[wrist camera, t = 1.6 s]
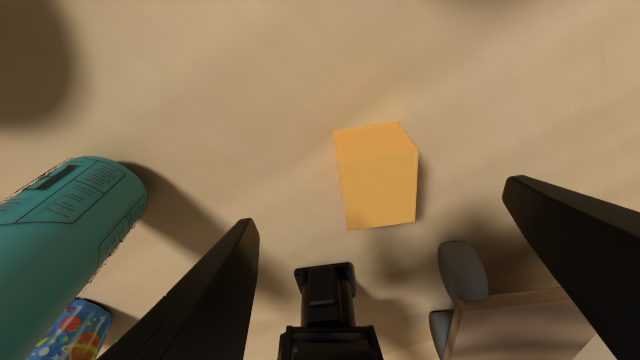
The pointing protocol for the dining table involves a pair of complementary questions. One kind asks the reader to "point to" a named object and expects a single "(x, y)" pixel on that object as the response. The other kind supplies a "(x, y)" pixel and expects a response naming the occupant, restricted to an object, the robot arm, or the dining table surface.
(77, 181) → the beverage bottle
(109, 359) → the robot arm
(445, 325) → the trolley
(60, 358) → the snack cup
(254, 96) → the dining table surface
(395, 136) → the block
